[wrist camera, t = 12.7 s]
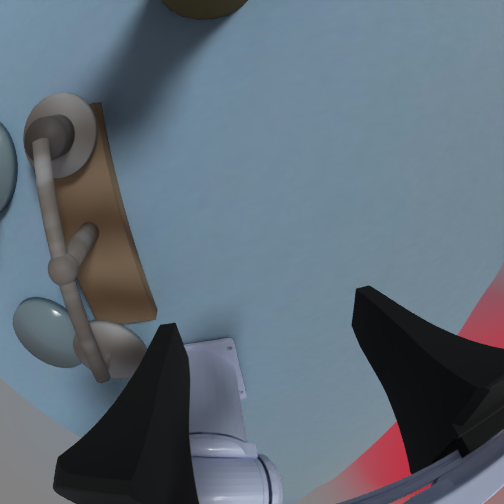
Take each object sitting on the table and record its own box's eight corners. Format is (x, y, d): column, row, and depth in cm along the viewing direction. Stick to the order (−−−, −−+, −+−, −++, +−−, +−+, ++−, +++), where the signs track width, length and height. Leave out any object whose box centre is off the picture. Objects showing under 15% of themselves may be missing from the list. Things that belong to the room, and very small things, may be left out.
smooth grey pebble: (101, 358, 25) (99, 366, 24) (41, 361, 24) (39, 368, 23) (65, 292, 21) (61, 299, 20) (4, 301, 20) (-1, 308, 19)
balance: (163, 322, 24) (155, 405, 16) (108, 329, 23) (87, 407, 16) (99, 82, 15) (32, 75, 7) (34, 108, 14) (-46, 124, 7)
